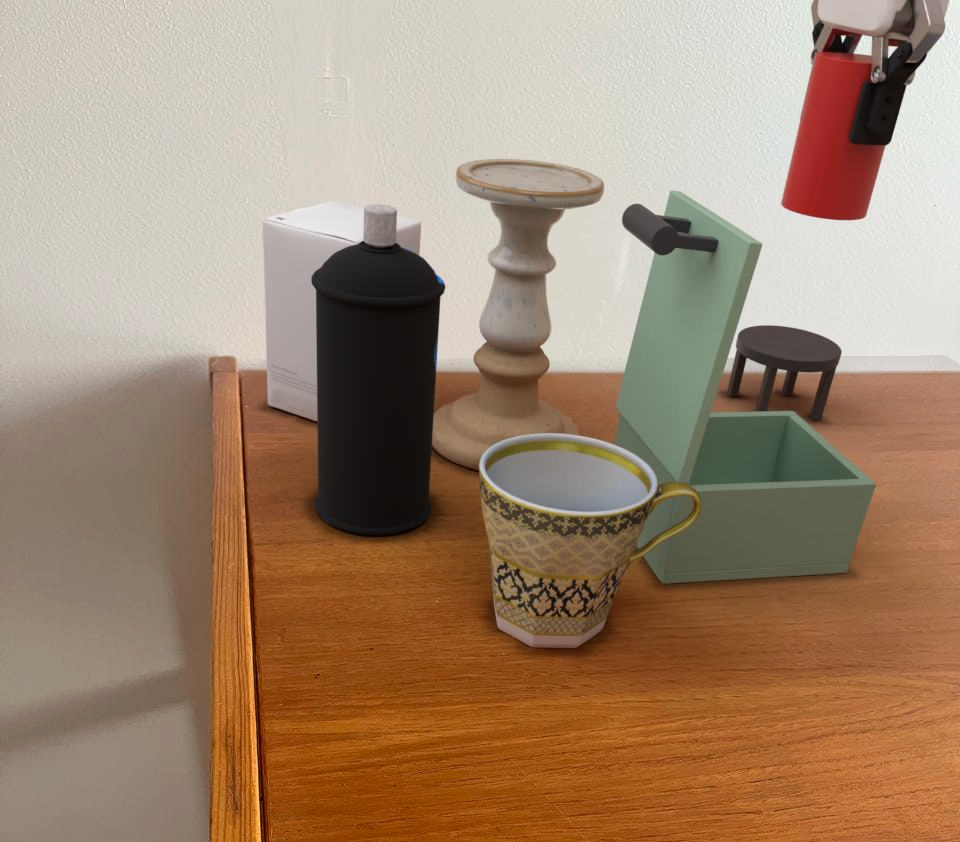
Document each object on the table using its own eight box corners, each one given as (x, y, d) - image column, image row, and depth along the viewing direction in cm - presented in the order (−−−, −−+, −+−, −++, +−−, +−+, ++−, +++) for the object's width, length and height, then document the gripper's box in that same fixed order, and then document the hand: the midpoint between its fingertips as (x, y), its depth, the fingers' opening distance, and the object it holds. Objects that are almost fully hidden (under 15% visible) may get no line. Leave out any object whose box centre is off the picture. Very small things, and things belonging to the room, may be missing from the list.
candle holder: (571, 487, 78) (613, 205, 66) (411, 463, 79) (425, 181, 67) (585, 423, 88) (624, 168, 76) (443, 402, 89) (460, 148, 77)
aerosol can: (369, 550, 68) (376, 234, 56) (289, 503, 72) (281, 200, 61) (455, 512, 73) (478, 215, 61) (376, 470, 77) (383, 186, 66)
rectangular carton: (354, 437, 82) (356, 241, 73) (265, 407, 85) (257, 216, 76) (416, 402, 88) (425, 219, 80) (331, 376, 92) (331, 197, 83)
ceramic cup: (472, 666, 58) (487, 510, 53) (460, 573, 66) (472, 428, 61) (694, 670, 60) (732, 518, 54) (656, 578, 68) (686, 437, 62)
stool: (794, 387, 99) (811, 325, 95) (841, 426, 92) (861, 361, 88) (707, 388, 97) (721, 325, 93) (749, 428, 90) (765, 361, 86)
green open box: (770, 493, 80) (793, 410, 76) (846, 573, 70) (876, 483, 67) (604, 500, 76) (619, 413, 72) (661, 584, 67) (681, 491, 63)
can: (839, 200, 85) (877, 54, 79) (882, 221, 80) (926, 67, 74) (766, 198, 83) (799, 49, 77) (805, 219, 78) (844, 62, 72)
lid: (681, 191, 64) (608, 181, 63) (763, 243, 55) (680, 233, 54) (625, 408, 72) (559, 403, 71) (689, 484, 63) (615, 481, 62)
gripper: (1054, -161, 62) (952, 160, 72) (895, -154, 76) (829, 115, 86) (946, -174, 60) (858, 156, 71) (804, -165, 74) (747, 111, 84)
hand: (843, 131), depth 78 cm, fingers closed on can, 6 cm apart
